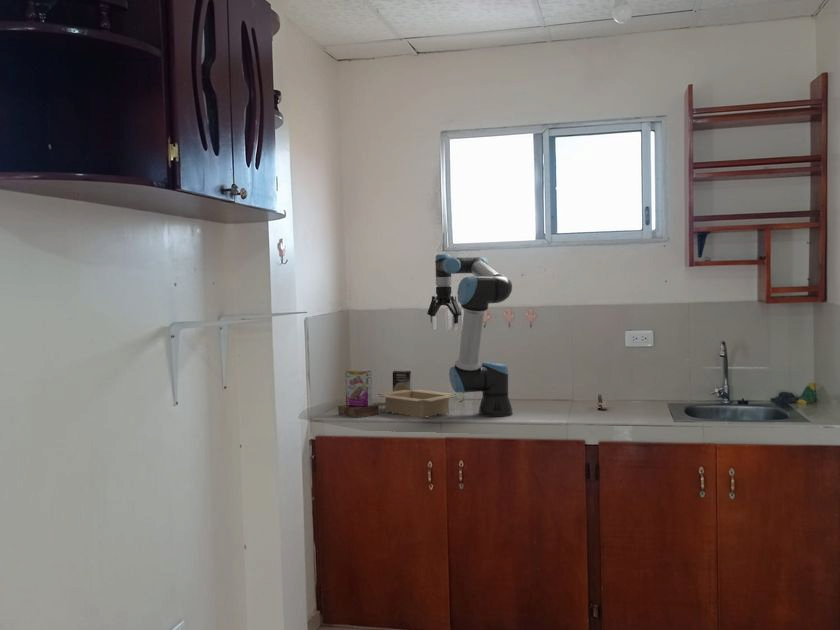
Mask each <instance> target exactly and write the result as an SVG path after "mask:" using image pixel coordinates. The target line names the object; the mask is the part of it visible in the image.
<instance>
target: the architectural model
mask: <svg viewBox="0 0 840 630" xmlns="http://www.w3.org/2000/svg"><path fill="white" fill-rule="evenodd" d="M603 405H606V401H605V400H604V401H603V394H602V393H601V394H599V393H597V407H598V406H599V407H602V408H603Z"/></svg>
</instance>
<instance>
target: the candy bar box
mask: <svg viewBox="0 0 840 630" xmlns="http://www.w3.org/2000/svg"><path fill="white" fill-rule="evenodd" d="M372 373H373V372H372V370H370V369H347V370H345V405H346V406H359V407H369V406H371V405H373V393H372V392H373V388H372V383H373V382H372V378H373V377H372Z"/></svg>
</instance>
